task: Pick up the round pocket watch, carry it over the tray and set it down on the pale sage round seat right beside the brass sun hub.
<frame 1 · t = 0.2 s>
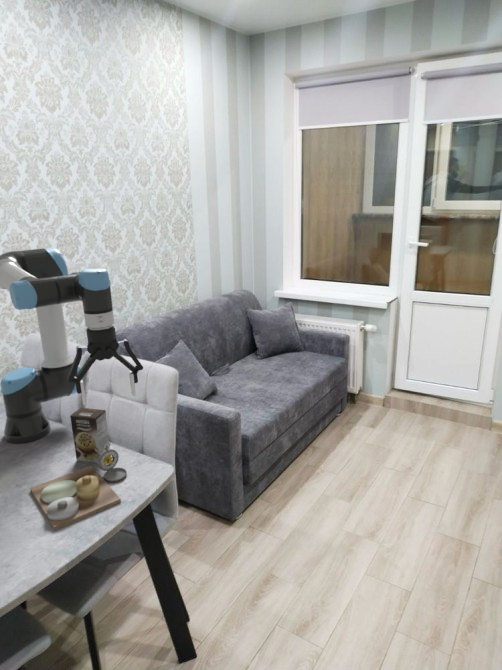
hand: (109, 398, 135), 26 cm above the table, fingers open, 13 cm apart
tray: (74, 496, 135), on the table
pocket watch: (114, 475, 145), on the table
coffee box: (93, 457, 155), on the table
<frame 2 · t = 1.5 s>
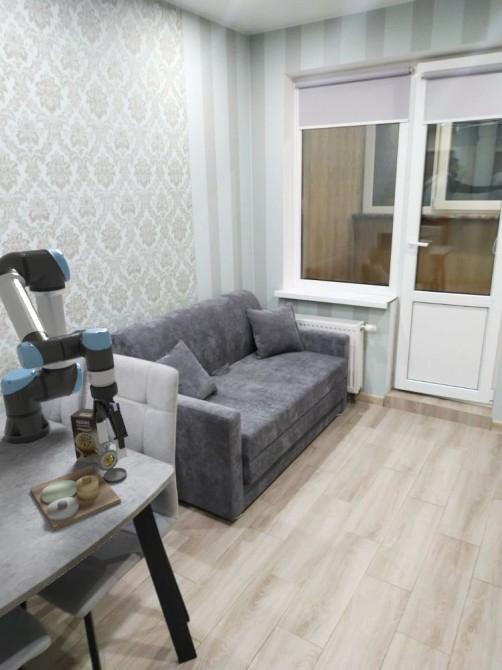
hand: (112, 449, 141), 9 cm above the table, fingers open, 13 cm apart
coffee box: (93, 458, 155), on the table, touching gripper
everything else where it was.
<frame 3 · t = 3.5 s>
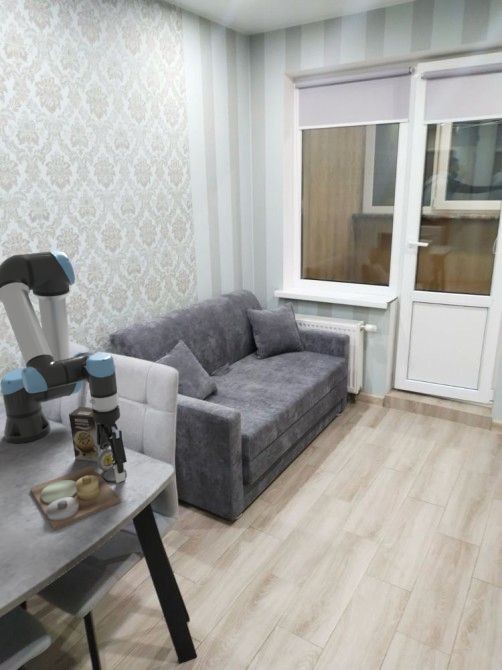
hand: (114, 474, 145), 0 cm above the table, fingers open, 9 cm apart
coffee box: (92, 456, 155), on the table
everything else where it was.
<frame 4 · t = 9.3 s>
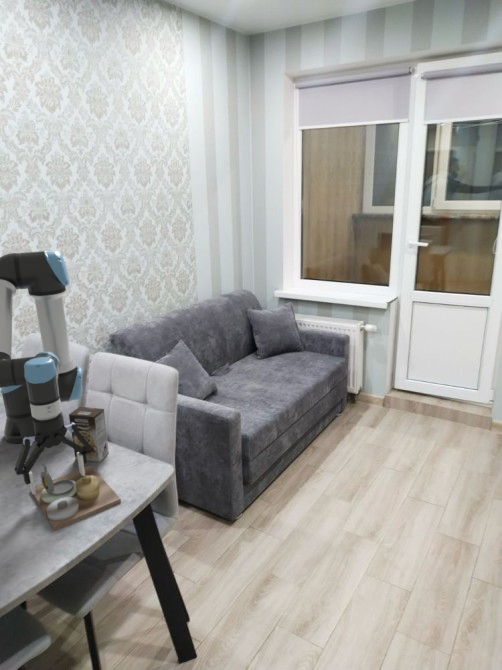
hand: (58, 482, 134), 4 cm above the table, fingers open, 13 cm apart
pocket watch: (57, 491, 134), point 2 cm above the table, touching tray
everything else where it was.
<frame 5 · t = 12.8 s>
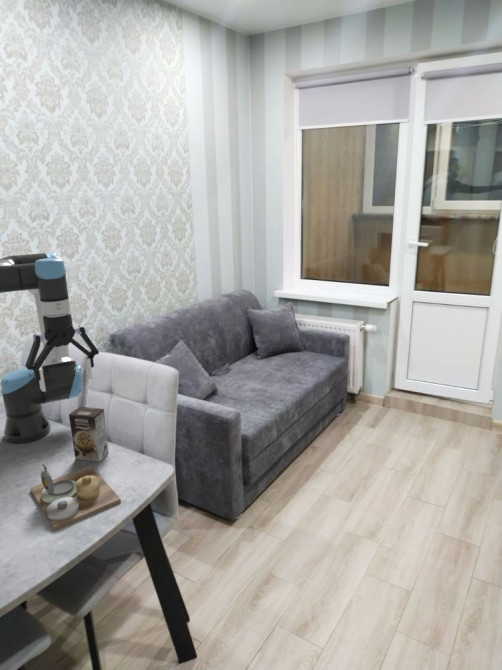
hand: (67, 384, 140), 29 cm above the table, fingers open, 13 cm apart
nothing on the table moved.
at the end: pocket watch inside the target area on the tray (0.6 cm from its centre), point 1.6 cm above the tray's base; pocket watch touching tray; the gripper is holding nothing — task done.
